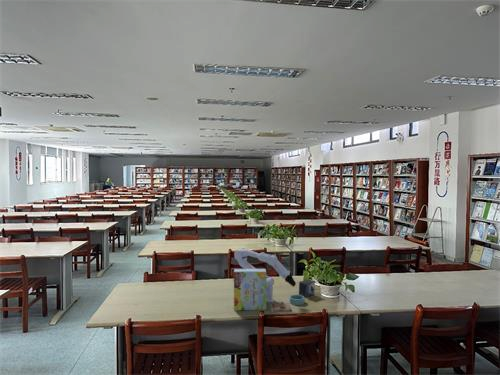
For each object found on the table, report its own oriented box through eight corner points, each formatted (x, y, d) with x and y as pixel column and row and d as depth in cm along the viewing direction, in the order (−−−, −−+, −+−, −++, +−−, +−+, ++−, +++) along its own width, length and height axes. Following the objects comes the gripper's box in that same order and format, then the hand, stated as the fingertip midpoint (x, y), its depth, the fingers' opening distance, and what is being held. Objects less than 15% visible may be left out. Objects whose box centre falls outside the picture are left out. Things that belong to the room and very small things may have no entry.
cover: (273, 311, 225) (273, 304, 225) (271, 304, 237) (271, 298, 237) (292, 311, 226) (292, 304, 226) (289, 304, 238) (289, 298, 238)
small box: (304, 298, 252) (304, 283, 251) (298, 295, 257) (298, 281, 256) (314, 295, 258) (315, 281, 257) (308, 292, 263) (308, 279, 263)
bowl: (290, 305, 237) (290, 299, 237) (288, 300, 247) (288, 294, 247) (305, 305, 237) (305, 299, 237) (302, 300, 247) (302, 294, 247)
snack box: (265, 305, 236) (266, 268, 235) (266, 310, 228) (267, 271, 227) (233, 305, 235) (234, 268, 235) (233, 310, 227) (233, 271, 226)
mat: (272, 312, 224) (272, 312, 224) (270, 304, 238) (270, 304, 238) (293, 312, 225) (293, 312, 225) (290, 304, 239) (290, 303, 239)
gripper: (285, 264, 234) (299, 280, 230) (285, 267, 248) (298, 282, 244) (277, 271, 233) (291, 287, 229) (278, 274, 247) (291, 289, 242)
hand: (294, 285), depth 236 cm, fingers open, 7 cm apart
